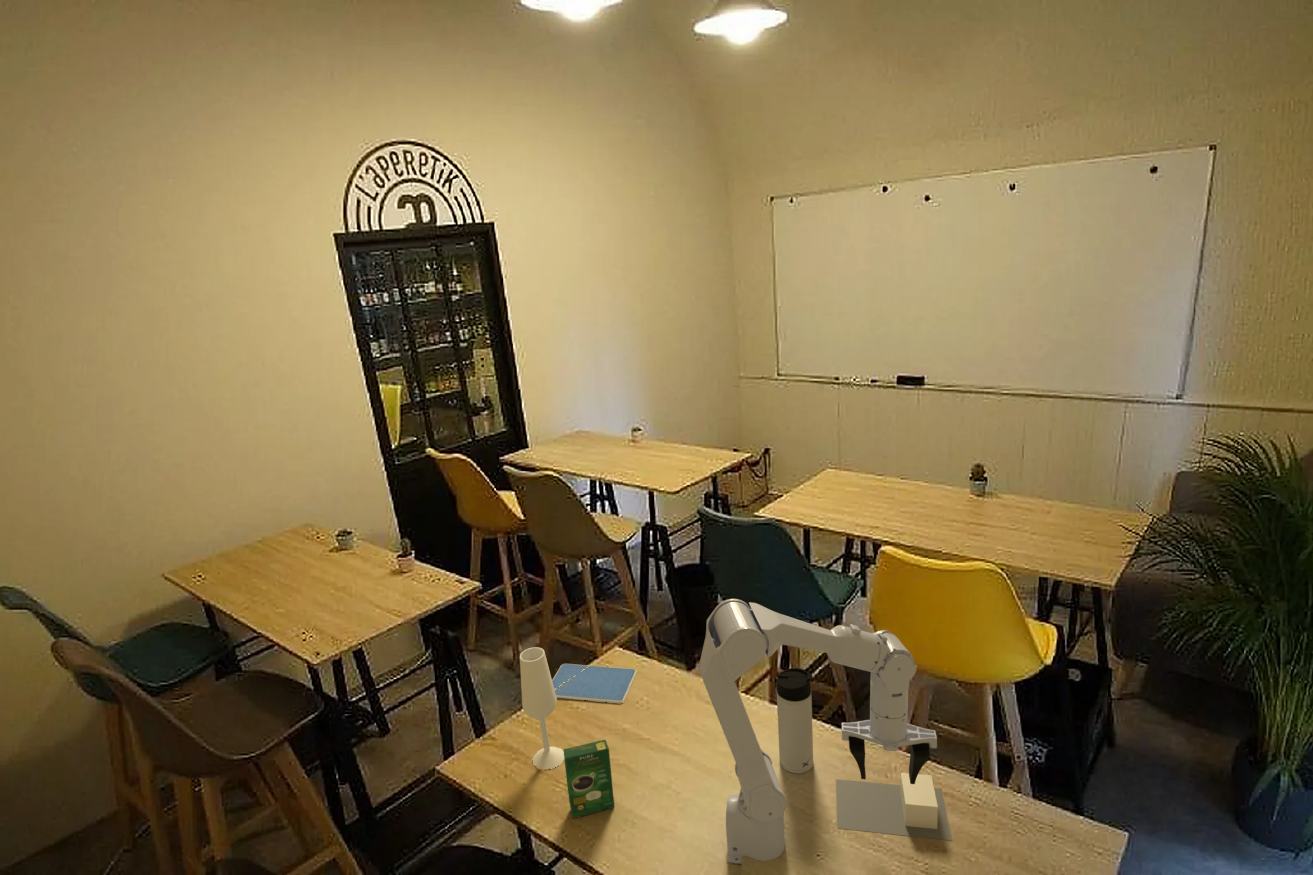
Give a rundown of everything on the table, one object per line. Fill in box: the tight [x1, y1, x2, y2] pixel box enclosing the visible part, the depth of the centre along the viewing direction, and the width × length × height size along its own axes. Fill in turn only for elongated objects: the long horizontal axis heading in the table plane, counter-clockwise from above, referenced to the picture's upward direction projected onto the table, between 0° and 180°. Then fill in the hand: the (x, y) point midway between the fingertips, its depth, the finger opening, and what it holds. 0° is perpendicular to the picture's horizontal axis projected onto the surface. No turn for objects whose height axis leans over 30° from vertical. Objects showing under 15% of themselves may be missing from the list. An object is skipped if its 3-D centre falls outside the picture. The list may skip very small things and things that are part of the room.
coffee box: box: [563, 739, 615, 819], centre depth 125 cm, size 8×3×13 cm, turn 104°
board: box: [835, 778, 953, 842], centre depth 120 cm, size 18×11×4 cm, turn 77°
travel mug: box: [775, 667, 814, 775], centre depth 130 cm, size 6×7×20 cm
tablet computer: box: [552, 663, 638, 704], centre depth 162 cm, size 19×13×1 cm, turn 76°
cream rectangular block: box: [900, 772, 938, 829], centre depth 118 cm, size 5×7×4 cm
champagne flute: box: [519, 646, 565, 770], centre depth 137 cm, size 7×7×24 cm
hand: (887, 777), depth 115 cm, fingers open, 7 cm apart
